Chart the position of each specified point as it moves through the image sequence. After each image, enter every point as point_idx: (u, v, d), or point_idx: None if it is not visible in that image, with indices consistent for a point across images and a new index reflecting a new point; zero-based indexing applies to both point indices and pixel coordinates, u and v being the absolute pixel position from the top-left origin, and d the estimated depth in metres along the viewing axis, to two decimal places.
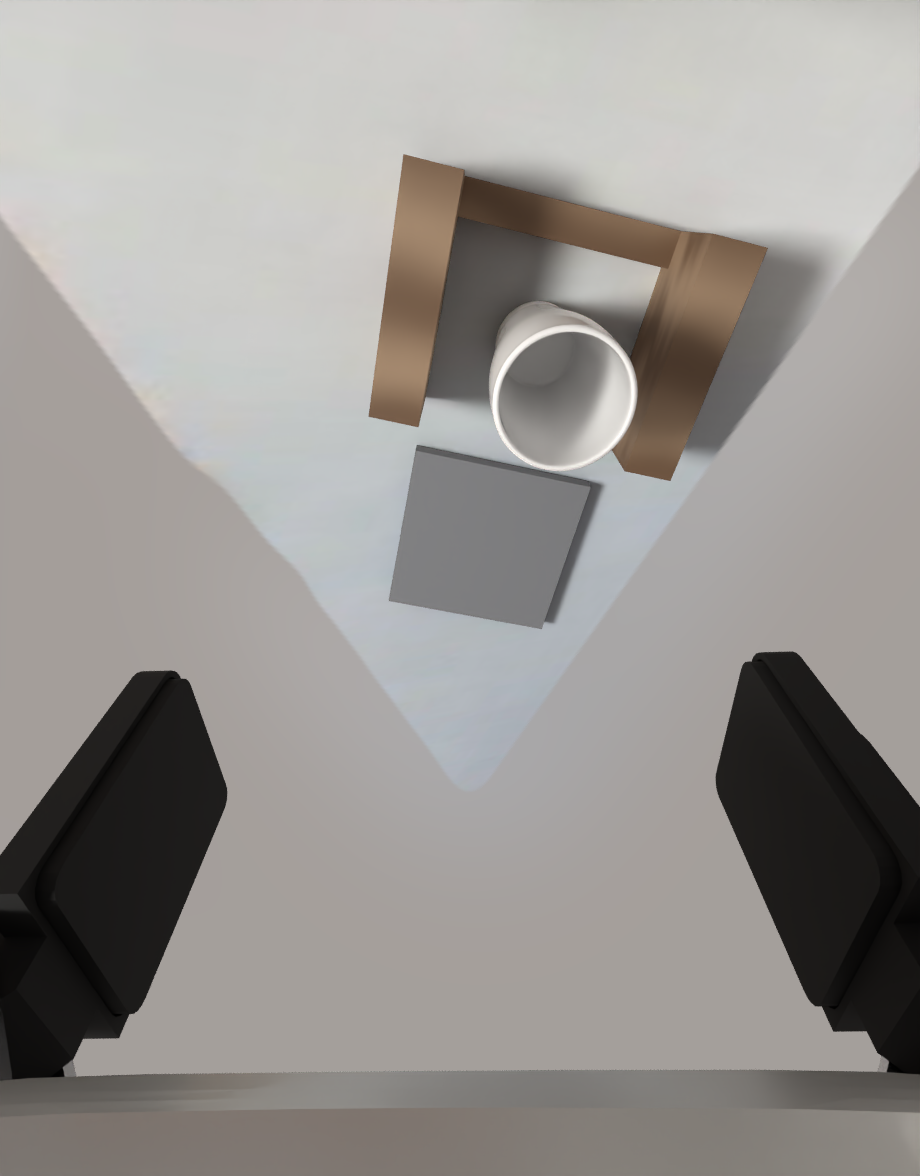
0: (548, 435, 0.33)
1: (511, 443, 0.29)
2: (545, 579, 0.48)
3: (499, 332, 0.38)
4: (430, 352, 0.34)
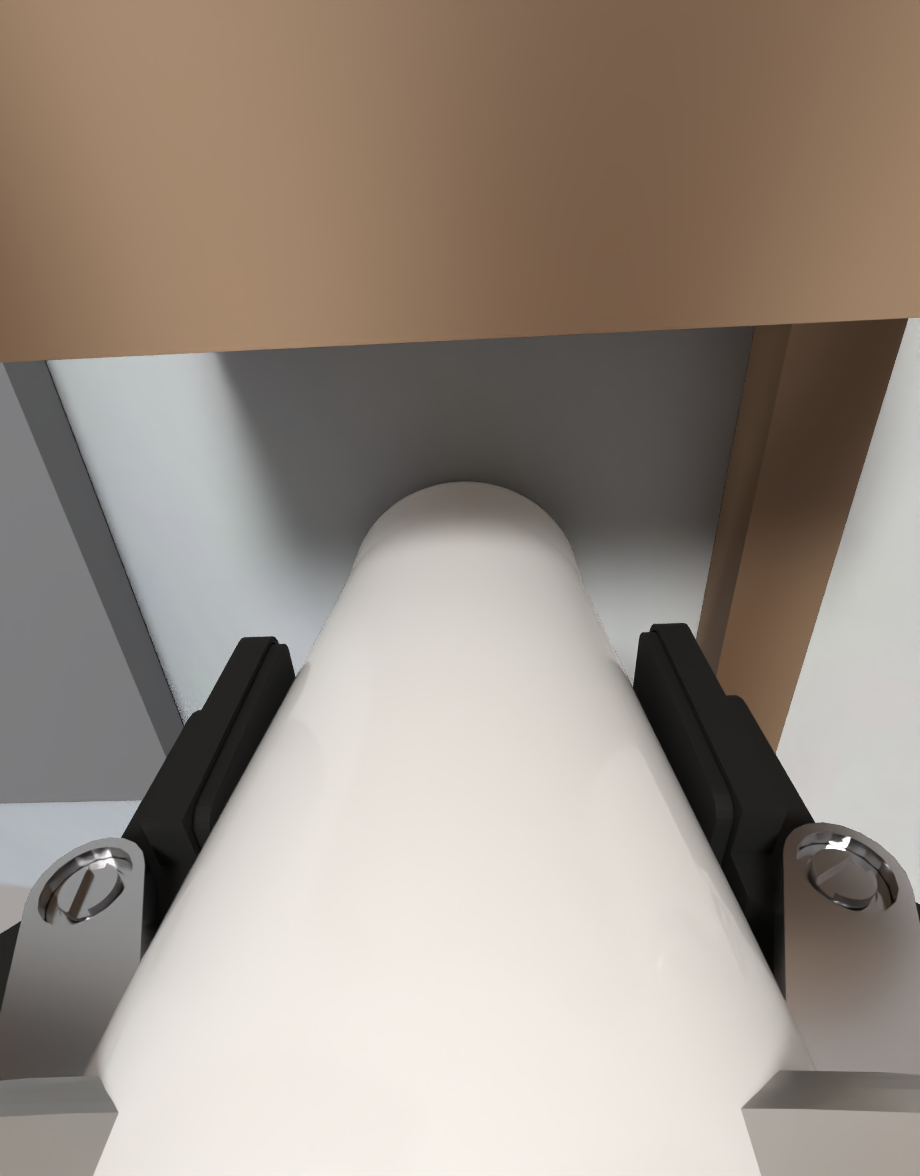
0: None
1: None
2: None
3: (481, 507, 0.12)
4: (362, 337, 0.06)
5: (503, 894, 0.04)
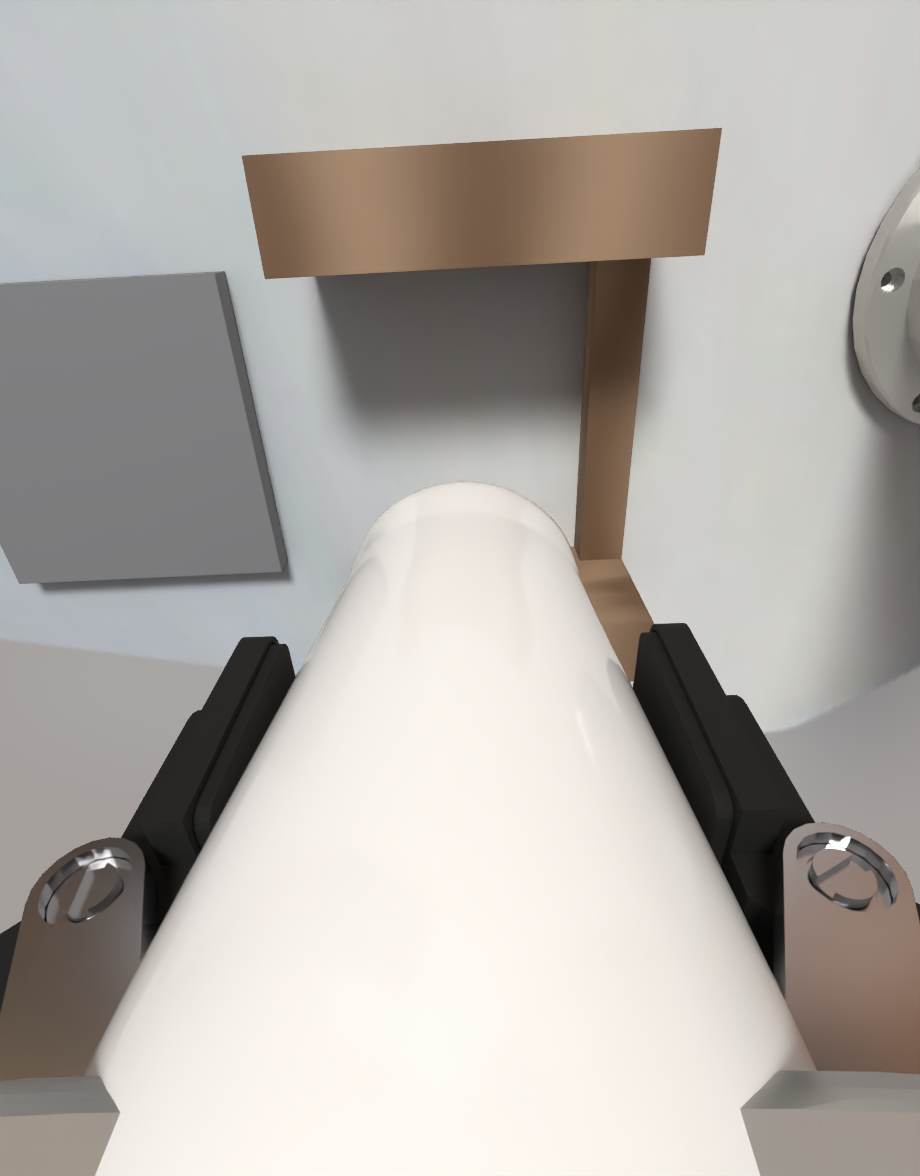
0: None
1: None
2: (107, 560, 0.29)
3: (481, 507, 0.12)
4: (409, 268, 0.18)
5: (503, 890, 0.04)
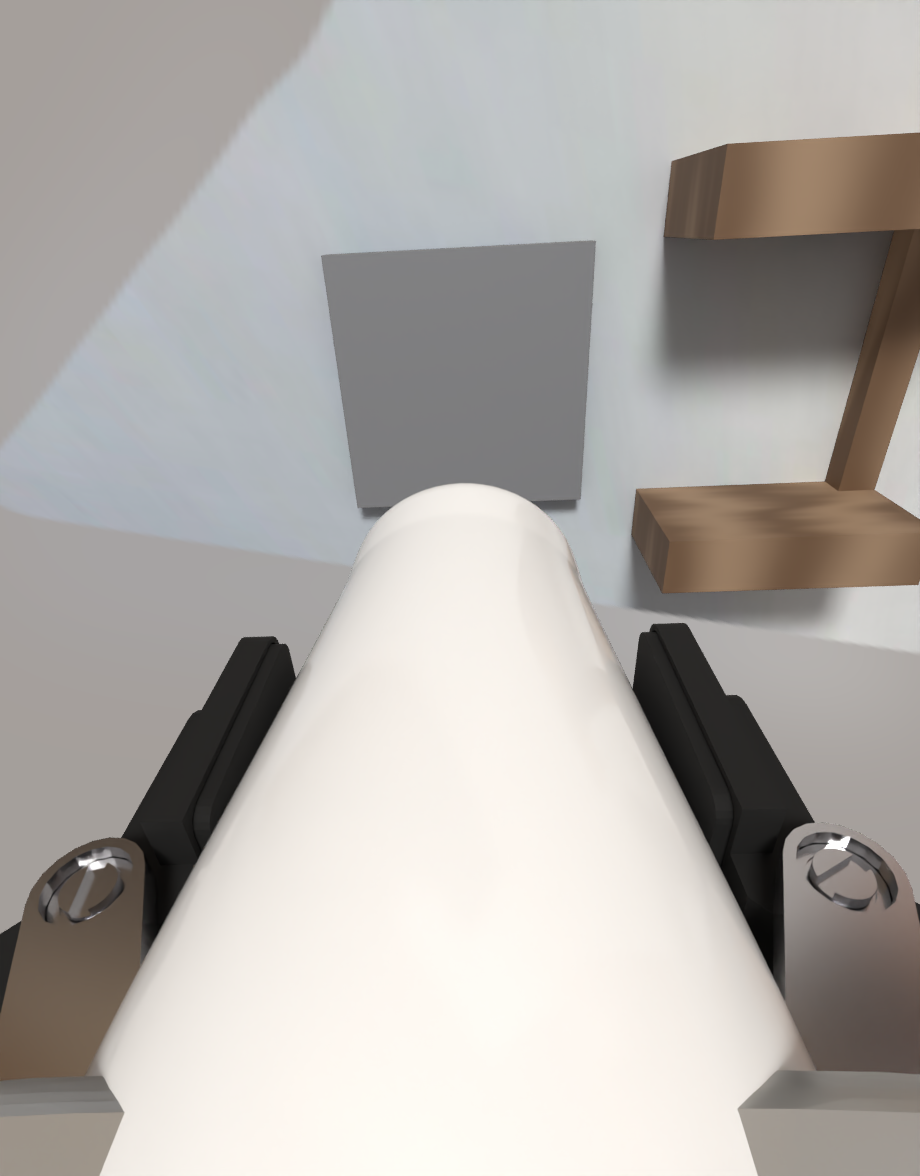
0: None
1: None
2: None
3: (481, 509, 0.12)
4: (828, 231, 0.23)
5: (504, 900, 0.04)
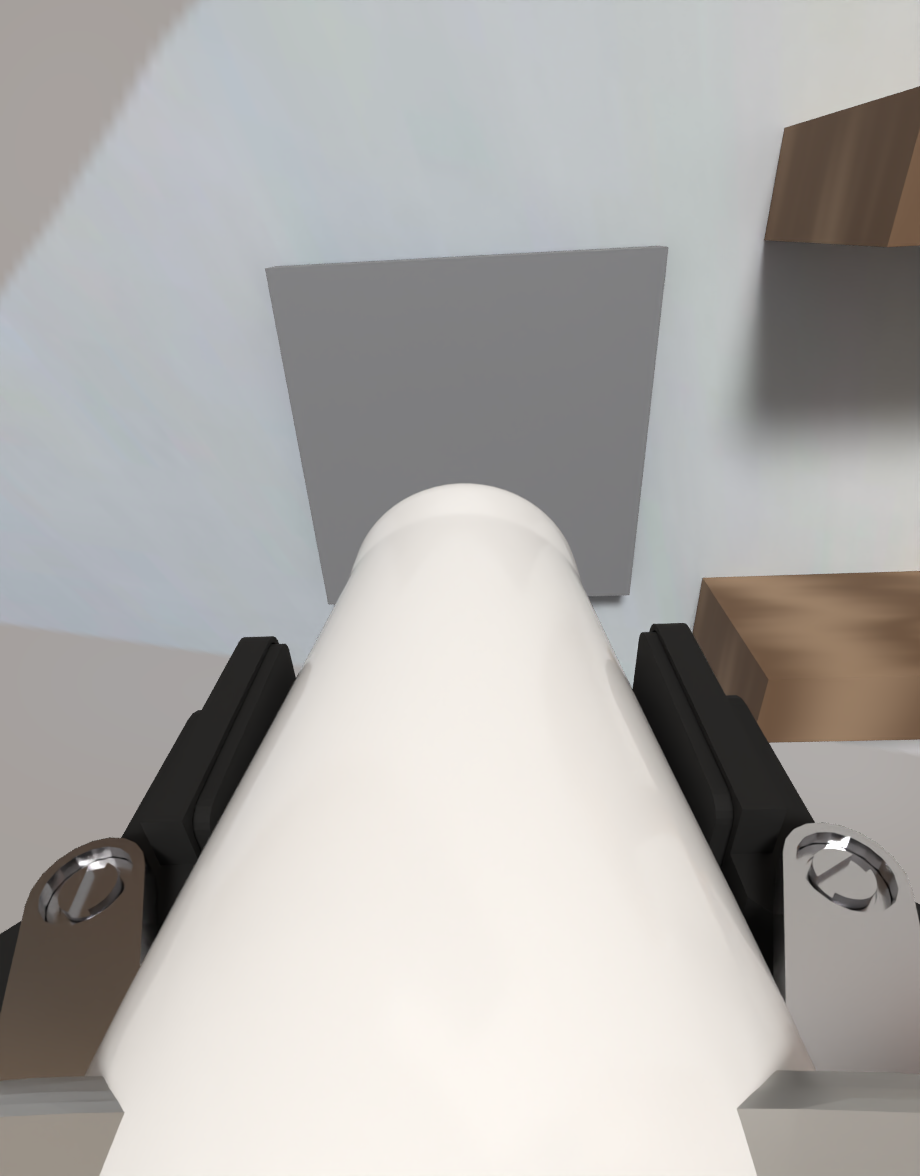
0: None
1: None
2: None
3: (481, 509, 0.12)
4: None
5: (504, 901, 0.04)
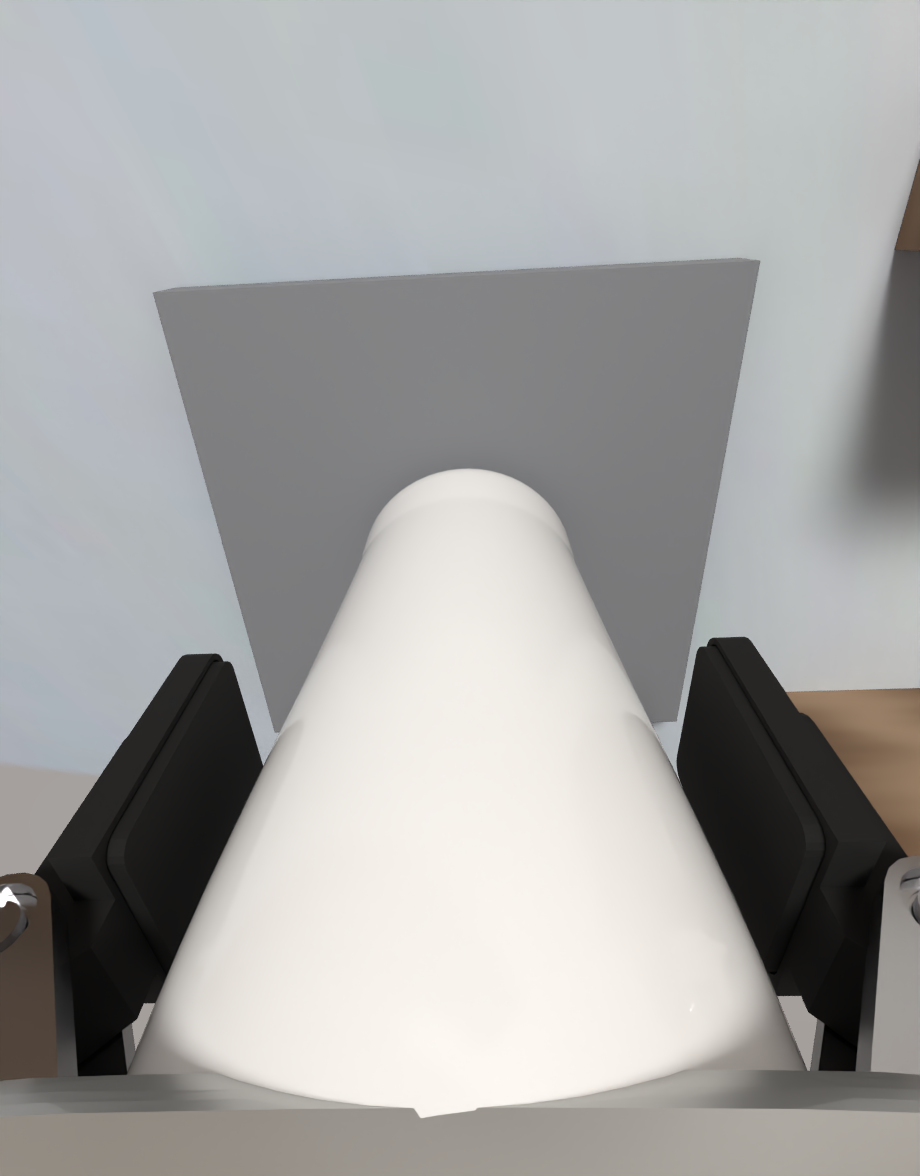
0: None
1: None
2: None
3: (479, 492, 0.13)
4: None
5: (497, 799, 0.06)
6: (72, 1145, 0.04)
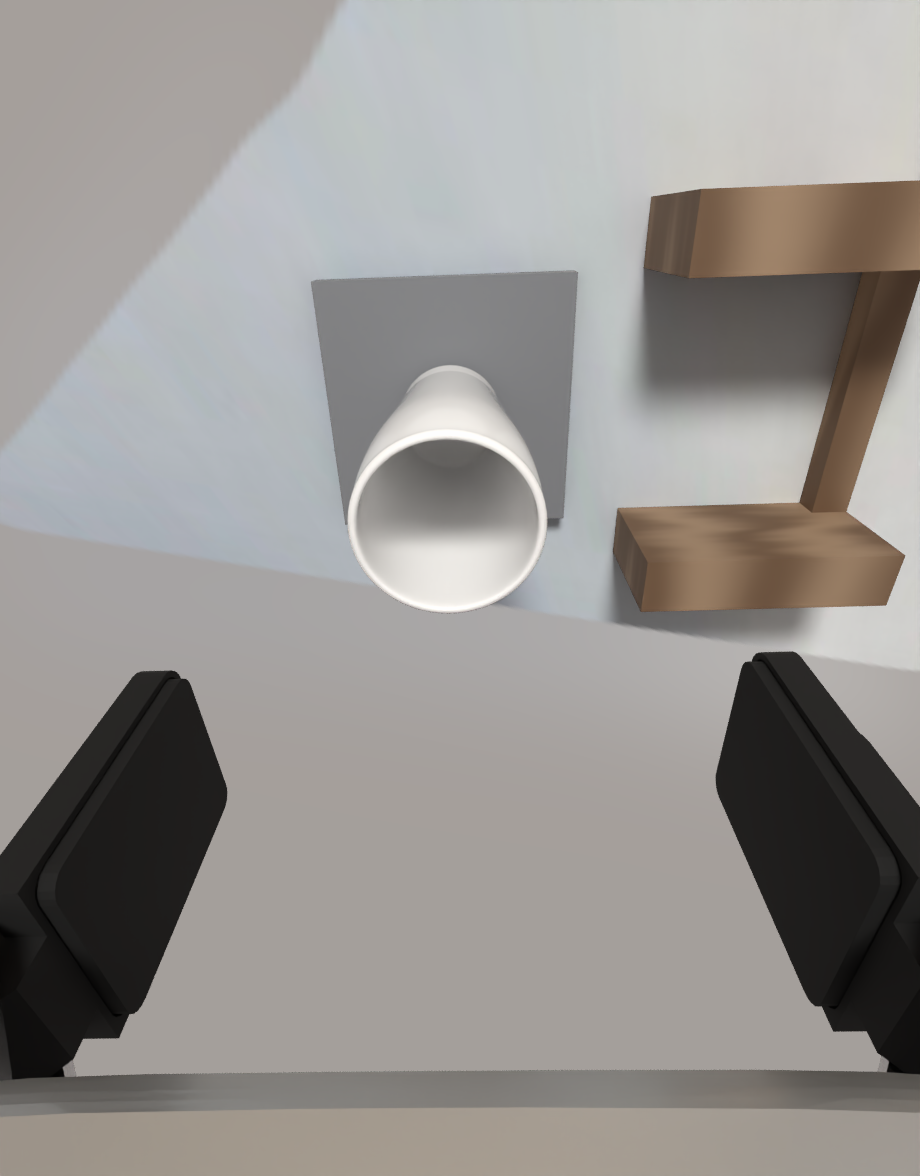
0: (378, 500, 0.25)
1: (367, 480, 0.19)
2: None
3: (454, 369, 0.30)
4: (797, 272, 0.24)
5: (455, 395, 0.22)
6: (71, 1145, 0.04)
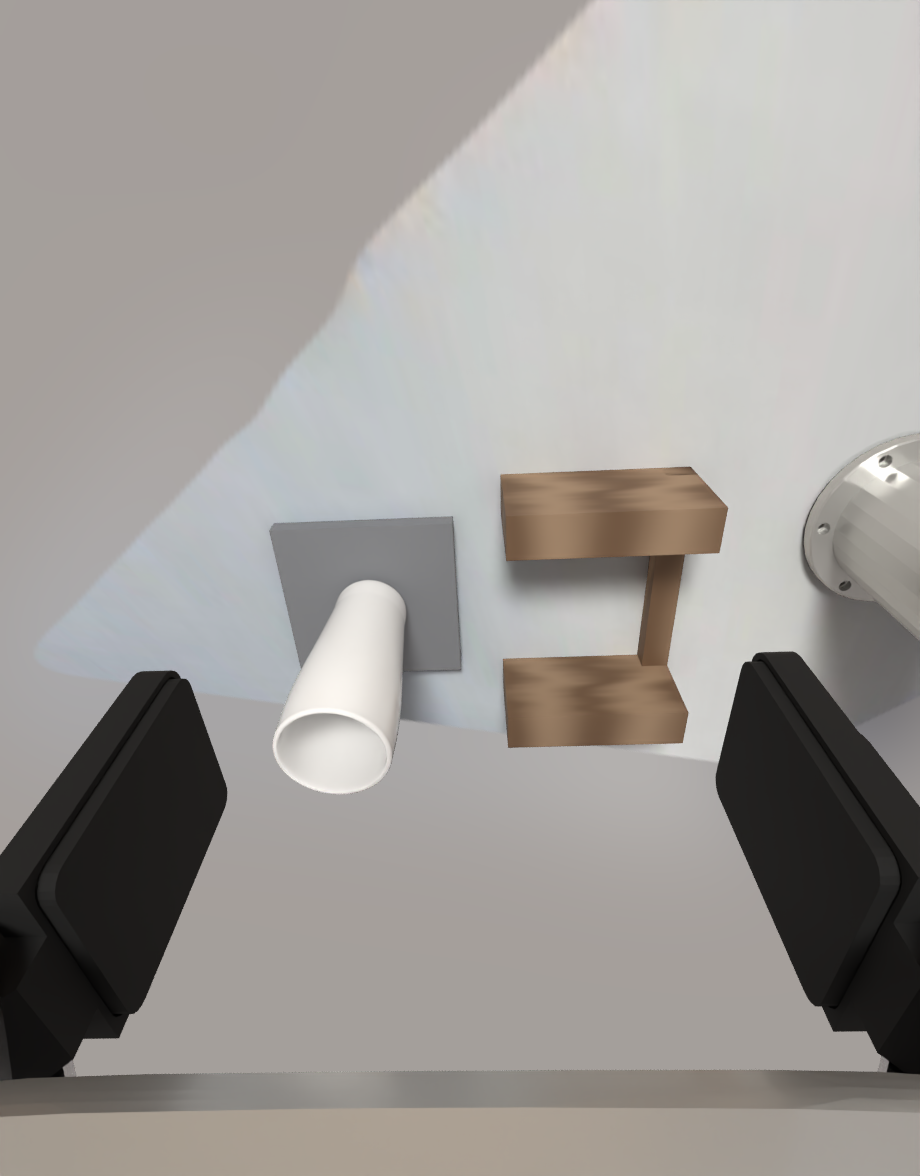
0: None
1: (281, 731, 0.33)
2: None
3: (367, 590, 0.43)
4: (576, 557, 0.37)
5: (344, 656, 0.36)
6: (72, 1145, 0.04)
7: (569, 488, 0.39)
